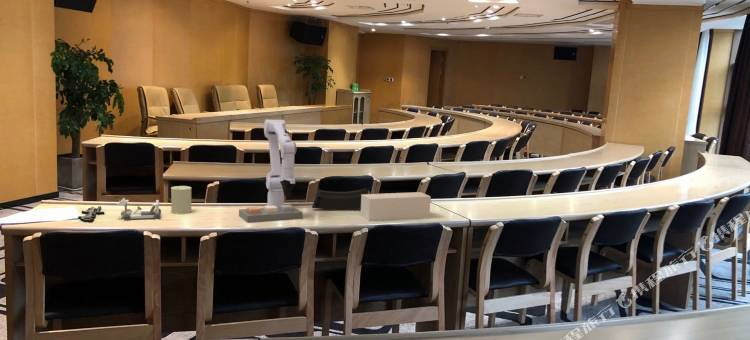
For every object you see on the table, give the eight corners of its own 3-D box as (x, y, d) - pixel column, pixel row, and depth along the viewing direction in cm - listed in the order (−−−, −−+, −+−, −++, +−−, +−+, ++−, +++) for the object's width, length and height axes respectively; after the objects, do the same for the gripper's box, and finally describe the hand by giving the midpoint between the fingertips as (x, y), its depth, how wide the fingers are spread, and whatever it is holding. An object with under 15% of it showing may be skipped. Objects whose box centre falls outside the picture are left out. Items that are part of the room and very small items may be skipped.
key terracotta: (246, 213, 279) (247, 207, 278) (257, 212, 281) (257, 206, 280) (250, 216, 274) (250, 209, 274) (260, 215, 277) (260, 208, 276)
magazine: (308, 192, 297) (366, 175, 301) (307, 191, 300) (365, 174, 304) (317, 225, 300) (374, 208, 305) (316, 223, 303) (373, 206, 308)
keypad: (238, 215, 282) (238, 209, 281) (291, 212, 294) (291, 205, 293) (247, 222, 269) (247, 216, 269) (302, 218, 282) (302, 212, 281)
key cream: (263, 212, 282) (263, 206, 282) (274, 211, 285) (274, 205, 284) (267, 214, 278) (267, 208, 278) (277, 214, 280) (277, 207, 280)
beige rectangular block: (419, 213, 305) (420, 192, 303) (429, 217, 295) (430, 196, 293) (360, 216, 292) (361, 194, 290) (368, 221, 282) (369, 198, 281)
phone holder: (116, 199, 261) (118, 194, 272) (116, 221, 263) (119, 215, 274) (160, 198, 267) (160, 193, 278) (160, 220, 269) (161, 214, 280)
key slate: (280, 211, 286) (280, 205, 286) (290, 210, 288) (290, 204, 288) (283, 213, 282) (283, 207, 281) (293, 212, 284) (294, 206, 284)
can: (166, 212, 282) (166, 187, 280) (178, 208, 290) (178, 184, 289) (184, 214, 279) (183, 189, 277) (195, 210, 288) (195, 186, 286)
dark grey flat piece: (101, 219, 259) (76, 220, 256) (101, 223, 260) (76, 224, 256) (106, 206, 285) (82, 206, 281) (106, 209, 285) (83, 209, 282)
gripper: (274, 165, 286) (274, 193, 288) (284, 170, 274) (284, 199, 276) (288, 165, 290) (288, 193, 292) (299, 169, 277) (298, 198, 279)
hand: (287, 196), depth 284 cm, fingers closed
